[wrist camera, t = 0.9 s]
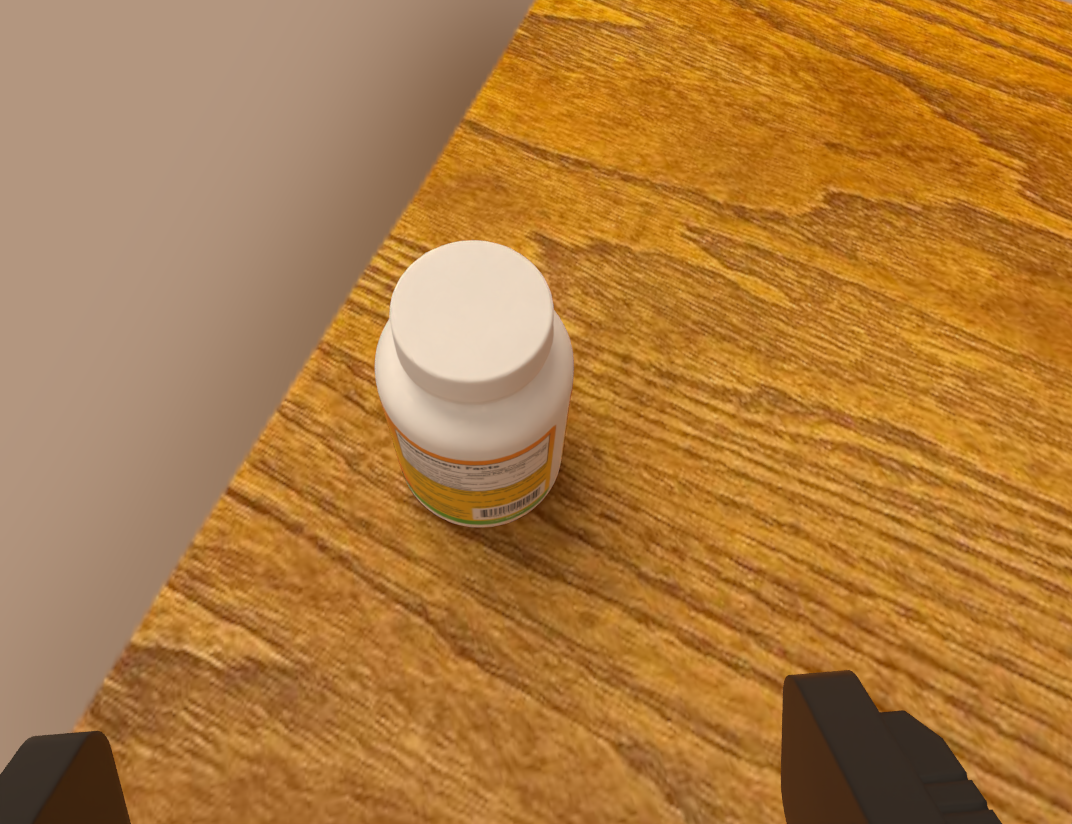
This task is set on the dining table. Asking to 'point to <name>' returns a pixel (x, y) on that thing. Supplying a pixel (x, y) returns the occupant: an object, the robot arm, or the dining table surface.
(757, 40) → the dining table surface
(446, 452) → the supplement bottle
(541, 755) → the dining table surface
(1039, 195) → the dining table surface
